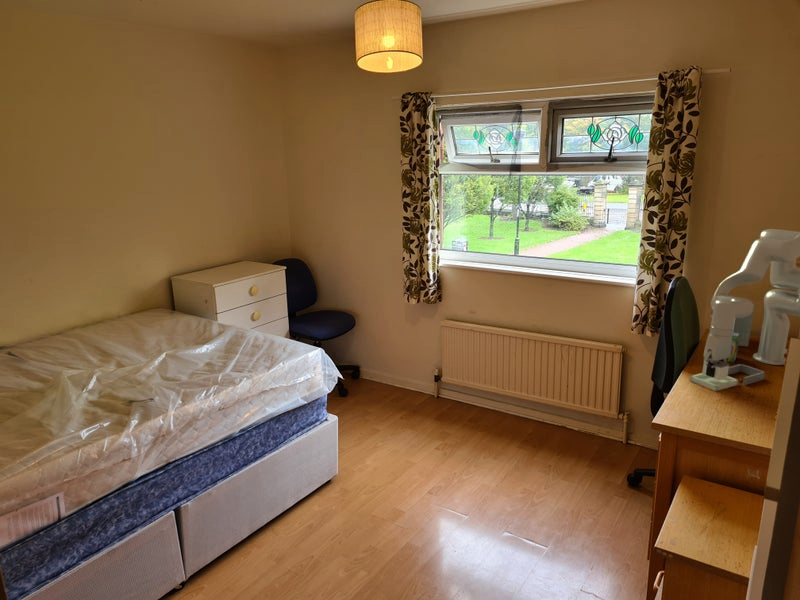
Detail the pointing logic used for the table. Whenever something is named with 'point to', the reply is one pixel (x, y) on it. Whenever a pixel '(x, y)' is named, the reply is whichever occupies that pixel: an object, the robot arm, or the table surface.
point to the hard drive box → (743, 328)
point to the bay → (754, 373)
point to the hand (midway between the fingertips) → (714, 374)
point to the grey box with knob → (718, 370)
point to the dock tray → (713, 382)
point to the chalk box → (734, 346)
